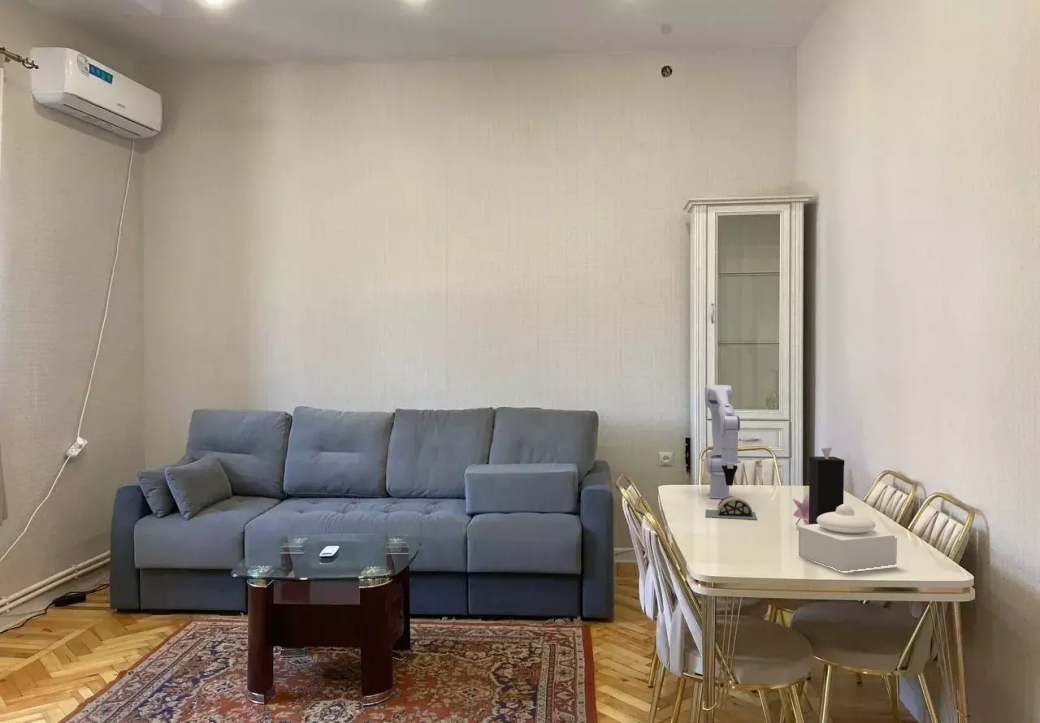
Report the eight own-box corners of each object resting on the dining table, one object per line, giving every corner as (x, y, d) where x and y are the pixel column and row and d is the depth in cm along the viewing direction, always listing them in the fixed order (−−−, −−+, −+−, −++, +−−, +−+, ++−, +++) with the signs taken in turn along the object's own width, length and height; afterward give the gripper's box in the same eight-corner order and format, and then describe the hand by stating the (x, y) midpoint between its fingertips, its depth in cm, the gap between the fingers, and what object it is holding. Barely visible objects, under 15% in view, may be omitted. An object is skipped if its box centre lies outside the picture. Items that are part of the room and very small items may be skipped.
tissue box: (808, 535, 241) (809, 445, 240) (833, 535, 240) (834, 446, 240) (817, 541, 233) (818, 449, 232) (843, 542, 233) (844, 449, 232)
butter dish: (896, 568, 206) (897, 508, 206) (841, 574, 200) (842, 513, 200) (848, 551, 222) (849, 496, 222) (796, 557, 217) (797, 500, 216)
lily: (786, 533, 248) (800, 509, 244) (776, 511, 259) (790, 489, 255) (820, 544, 249) (835, 520, 246) (809, 522, 260) (823, 499, 256)
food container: (748, 493, 275) (754, 498, 265) (748, 510, 276) (753, 516, 266) (713, 492, 277) (717, 497, 267) (713, 509, 277) (717, 515, 267)
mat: (705, 510, 277) (705, 509, 277) (754, 512, 273) (754, 511, 273) (705, 517, 266) (705, 516, 266) (757, 520, 262) (757, 519, 262)
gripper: (742, 451, 275) (741, 489, 276) (740, 446, 289) (739, 482, 290) (721, 450, 277) (721, 488, 277) (720, 445, 291) (720, 481, 291)
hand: (729, 485), depth 283 cm, fingers closed
